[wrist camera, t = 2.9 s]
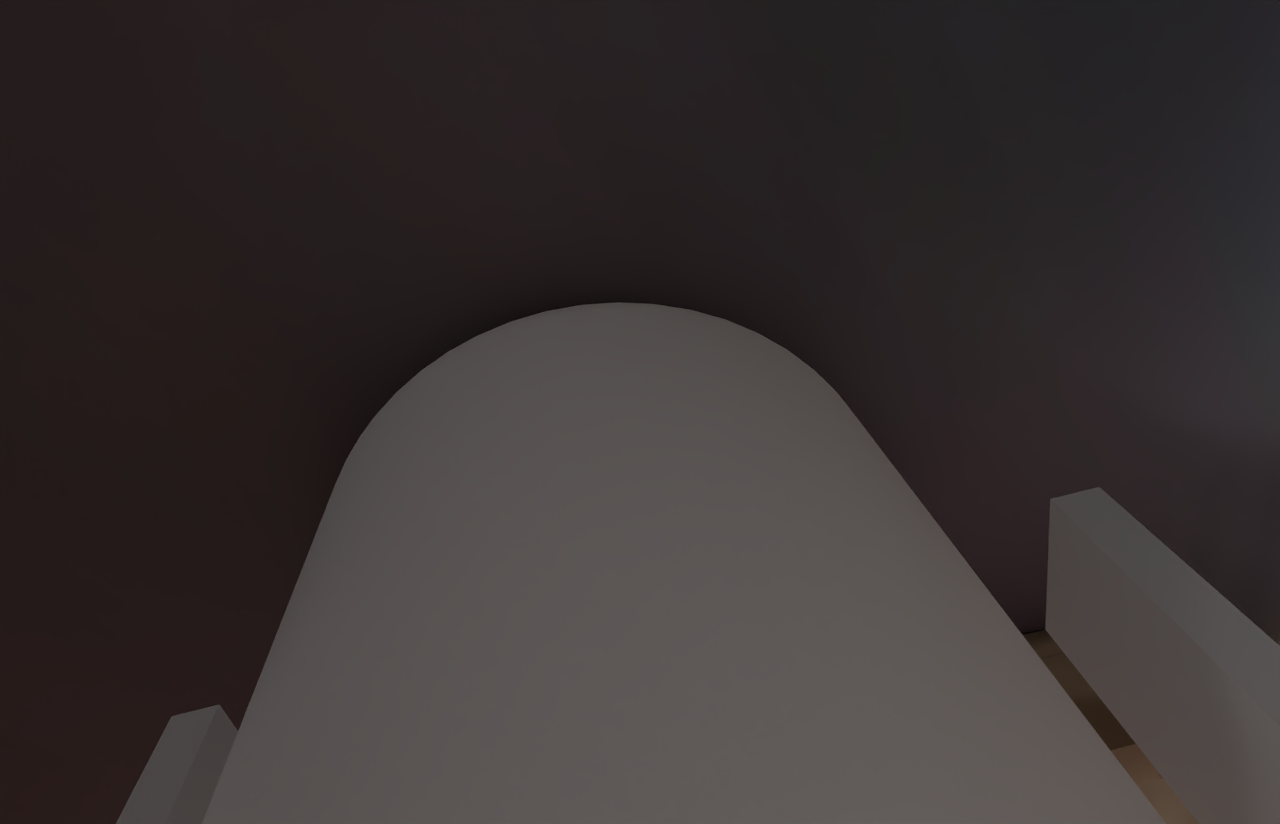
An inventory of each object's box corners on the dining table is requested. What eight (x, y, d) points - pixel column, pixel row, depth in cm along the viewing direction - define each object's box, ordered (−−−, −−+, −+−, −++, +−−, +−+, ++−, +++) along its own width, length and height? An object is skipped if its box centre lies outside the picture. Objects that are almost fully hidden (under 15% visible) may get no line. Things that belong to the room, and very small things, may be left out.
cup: (938, 538, 17) (1388, 1143, 8) (569, 765, 19) (604, 1452, 10) (667, 150, 12) (1010, 556, 3) (221, 503, 14) (-277, 1330, 5)
